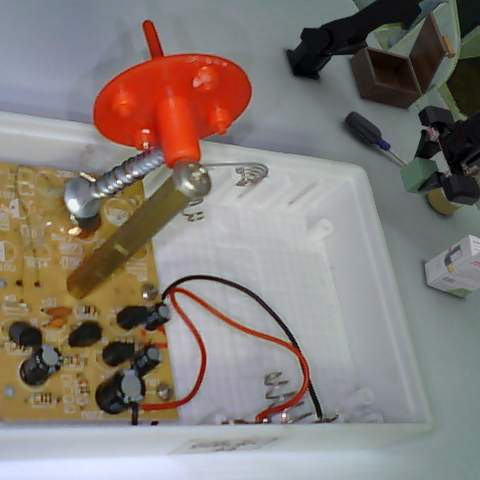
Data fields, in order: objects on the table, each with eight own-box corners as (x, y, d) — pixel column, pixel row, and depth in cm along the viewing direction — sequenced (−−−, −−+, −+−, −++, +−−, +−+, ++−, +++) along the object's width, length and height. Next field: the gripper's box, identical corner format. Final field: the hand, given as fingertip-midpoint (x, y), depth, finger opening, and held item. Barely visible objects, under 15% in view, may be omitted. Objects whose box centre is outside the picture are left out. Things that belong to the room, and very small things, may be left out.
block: (405, 192, 141) (423, 178, 138) (399, 170, 143) (416, 156, 140) (425, 195, 143) (443, 182, 140) (418, 174, 145) (435, 160, 142)
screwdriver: (443, 190, 162) (456, 180, 159) (440, 201, 160) (454, 192, 157) (342, 117, 159) (354, 105, 156) (338, 127, 157) (349, 116, 154)
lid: (444, 50, 154) (468, 49, 155) (428, 10, 159) (453, 9, 160) (421, 94, 166) (445, 92, 167) (408, 56, 171) (430, 54, 172)
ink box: (459, 276, 151) (519, 239, 139) (462, 298, 148) (524, 263, 137) (423, 262, 148) (481, 224, 137) (425, 285, 145) (485, 248, 134)
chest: (361, 98, 165) (375, 84, 161) (349, 59, 170) (363, 44, 166) (406, 109, 170) (422, 95, 166) (394, 71, 175) (408, 57, 171)
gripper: (532, 184, 130) (463, 230, 142) (497, 95, 138) (434, 145, 150) (484, 174, 125) (416, 222, 137) (450, 82, 134) (389, 135, 146)
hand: (416, 180), depth 143 cm, fingers closed on block, 4 cm apart
